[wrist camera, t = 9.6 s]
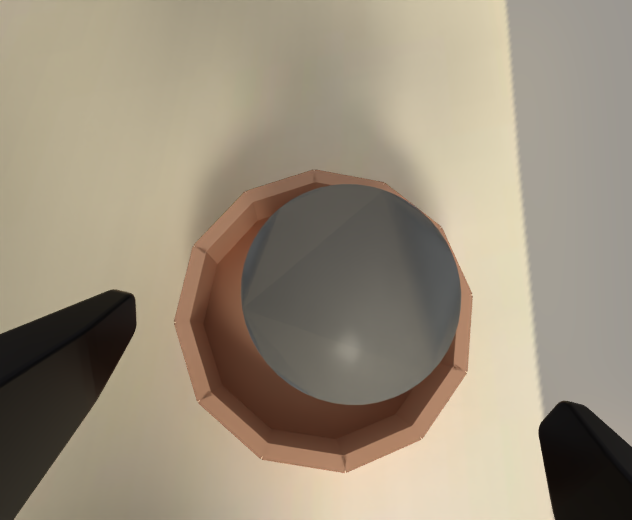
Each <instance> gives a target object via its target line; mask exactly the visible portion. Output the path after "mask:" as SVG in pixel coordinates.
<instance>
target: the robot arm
mask: <svg viewBox="0 0 632 520" xmlns="http://www.w3.org/2000/svg"><path fill="white" fill-rule="evenodd" d="M135 329H136V304H135V297H134V295H133V294H131V293H128V292H124V291H120V290H115V289H113V290H109V291H106V292H104V293H101V294H99V295H96V296H94V297H91V298H89V299H86V300H84V301H81V302H79V303H77V304H74V305H72V306H69V307H67V308H64V309H62V310H59V311H57V312H54V313H52V314H49V315H47V316H44V317H42V318H39V319H37V320H34V321H32V322H29V323H27V324H24V325H22V326H19V327H17V328H14V329H12V330H9V331H7V332H4V333H2V334H0V520H14V518H15V517H16V515H17V514H18V513H19V511H20V510H21V508H22V507H23V505H24V504H25V503H26V501H27V500H28V498H29V497H30V495H31V494H32V493H33V491H34V490H35V488H36V487H37V485H38V484H39V483H40V481H41V480H42V478H43V477H44V475H45V474H46V473H47V471H48V470H49V468H50V467H51V465H52V464H53V463H54V461H55V460H56V458H57V457H58V455H59V454H60V453H61V451H62V450H63V448H64V447H65V446H66V444H67V443H68V441H69V440H70V438H71V437H72V436H73V434H74V433H75V431H76V430H77V428H78V427H79V426H80V424H81V423H82V421H83V420H84V418H85V417H86V416H87V414H88V413H89V411H90V410H91V408H92V407H93V405H94V404H95V402H96V401H97V399H98V397H99V396H100V394H101V392H102V391H103V389H104V387H105V385H106V383H107V382H108V380H109V378H110V376H111V374H112V373H113V371H114V369H115V367H116V365H117V364H118V362H119V360H120V358H121V356H122V354H123V353H124V351H125V349H126V347H127V345H128V344H129V342H130V340H131V338H132V336H133V334H134V332H135ZM539 440H540V445H541V451H542V456H543V462H544V467H545V472H546V478H547V483H548V489H549V494H550V500H551V504H552V509H553V514H554V517H555V520H632V447H631V446H630V445H629V444H628V443H627V442H626V441H624V440H623V439H622V438H621V437H620V436H619V435H618V434H617V433H615V432H614V431H613V430H612V429H611V428H610V427H609V426H607V425H606V424H605V423H604V422H603V421H602V420H601V419H600V418H598V417H597V416H596V415H595V414H594V413H593V412H592V411H591V410H589V409H588V408H587V407H586V406H584V405H581V404H578V403H574V402H569V401H561V402H559V403H558V404H557V405H556V406H555V407H554V409H553V410H552V411H551V412H550V413H549V414H548V415H547V416H546V417H545V419H544V420H543V421H542V422H541V424H540V426H539Z"/></svg>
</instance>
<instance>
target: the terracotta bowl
mask: <svg viewBox="0 0 632 520" xmlns="http://www.w3.org/2000/svg"><path fill="white" fill-rule="evenodd" d="M383 183H384V182H380V181H374V180H369V179H364V178H358V177H353V176H347V175H342V174H336V173H331V172H325V171H320V170H315V171H314V170H311V171H307V172H304V173H301V174H298V175H295V176H292V177H288V178H285V179H282V180H279V181H276V182H273V183H269V184H266V185H263V186H260V187H257V188H254V189H250V190H247V191H246V193H245V192H244V193H243V194H242V195H241V196H240V197H239V198H238V199H237V200H236V201H235V202H234V203H233V204H232V205H231V206H230V207H229V208H228V210H227V211H226V212H225V213H224V214H223V215H222V216H221V217H220V218H219V219H218V220H217V221H216V222H215V223H214V224H213V225H212V226H211V227H210V228H209V229H208V230H207V232H206V233H205V234H204V235H203V236H202V237H201V238H200V239H199V240H198V241H197V242H196V243H195V244H194V246H195V247H194V246H193V248H192V252H191V256H190V260H189V264H188V268H187V272H186V276H185V280H184V284H183V288H182V292H181V296H180V300H179V304H178V308H177V312H176V316H175V320H174V322H176V323H174V325H175V328H176V332H177V335H178V338H179V342H180V345H181V349H182V352H183V355H184V359H185V362H186V365H187V369H188V372H189V376H190V379H191V382H192V386H193V389H194V393H195V396H196V399H197V401H199V400H200V401H199V402H198V403H199V404H200V405H201V406H202V407H203V408H204V409H205V410H207V411H208V412H209V413H210V414H211V415H212V416H213V417H214V418H215V419H217V420H218V421H219V422H220V423H221V424H222V425H223V426H224V427H225V428H227V429H228V430H229V431H230V432H231V433H232V434H233V435H234V436H235V437H237V438H238V439H239V440H240V441H241V442H242V443H243V444H244V445H246V446H247V447H248V448H249V449H250V450H251V451H252V452H253V453H254V454H256V455H257V456H258V457H259V458H260V459H261V457H262V456H263V457H262V460H267V461H274V462H280V463H286V464H292V465H298V466H305V467H311V468H317V469H323V470H329V471H336V472H342V473H345V471H346V473H347V472H349V471H351V470H354V469H356V468H358V467H360V466H363V465H365V464H367V463H370V462H372V461H374V460H376V459H379V458H381V457H383V456H385V455H388V454H390V453H392V452H394V451H397V450H399V449H401V448H404V447H406V446H408V445H410V444H413V443H415V442H417V441H419V440H421V438H422V439H423V437H424V436H425V434H426V433H427V431H428V430H429V428H430V427H431V425H432V424H433V422H434V421H435V419H436V418H437V416H438V415H439V413H440V412H441V411H442V409H443V408H444V406H445V405H446V403H447V402H448V400H449V399H450V397H451V396H452V394H453V393H454V391H455V390H456V388H457V387H458V385H459V384H460V383H461V381H462V380H463V378H464V377H465V375H466V374H467V373H466V372H467V370H468V355H469V341H470V327H471V312H472V298H473V296H472V295H471V294H472V292H471V290H470V288H469V286H468V284H467V281H466V279H465V277H464V275H463V273H462V270H461V268H460V266H459V264H458V262H457V259H456V257H455V255H454V253H453V251H452V249H451V246H450V244H449V242H448V240H447V238H446V235H445V233H444V231H443V229H442V228H440V227H441V226H440V225H439V224H437V223H436V222H435V221H433V220H432V219H431V218H430V217H428V216H427V215H426V214H424V213H423V212H422V211H421V210H420V211H421V212H422V213H423V214H424V215H426V216H427V217H428V218H429V219H430V220H431V221H432V223H433V224H434V225H435V226H436V227H437V229H438V230H439V231H440V233H441V234H442V236H443V237H444V239H445V240H446V242H447V244H448V246H449V248H450V250H451V252H452V254H453V257H454V260H455V263H456V265H457V269H458V274H459V278H460V286H461V311H460V317H459V322H458V326H457V329H456V332H455V336H454V338H453V340H452V343H451V345H450V347H449V349H448V351H447V352H446V354H445V356H444V357H443V359H442V360H441V362H440V363H439V364H438V365H437V367H436V368H435V369H434V370H433V371H432V372H431V374H429V375H428V376H427V377H426V378H425V379H424V380H423V381H421V382H420V383H419V384H418V385H416V386H414V387H413V388H411V389H410V390H408V391H407V392H405V393H403V394H400V395H398V396H396V397H394V398H391V399H388V400H385V401H381V402H377V403H371V404H365V405H345V404H337V403H331V402H327V401H324V400H320V399H317V398H315V397H312V396H310V395H307V394H305V393H303V392H301V391H300V390H298V389H296V388H295V387H293V386H291V385H290V384H288V383H287V382H286V381H285V380H283V379H282V378H281V377H280V376H278V375H277V374H276V373H275V371H274V370H273V369H272V368H271V367H270V366H269V365H268V364H267V363H266V361H265V360H264V359H263V357H262V356H261V355H260V353H259V352H258V350H257V348H256V346H255V345H254V343H253V341H252V339H251V337H250V334H249V332H248V329H247V326H246V324H245V319H244V315H243V311H242V302H241V278H242V273H243V267H244V263H245V260H246V257H247V254H248V251H249V249H250V246H251V244H252V242H253V240H254V238H255V237H256V235H257V233H258V232H259V230H260V229H261V227H262V226H263V225H264V224H265V222H266V221H267V220H268V219H269V218H270V217H271V216H272V215H273V214H274V213H275V212H276V211H277V210H278V209H279V208H280V207H282V206H283V205H285V204H286V203H287V202H289V201H290V200H292V199H294V198H296V197H297V196H299V195H301V194H303V193H306V192H308V191H311V190H314V189H317V188H321V187H325V186H329V185H338V184H358V185H365V186H371V187H375V188H379V189H382V190H385V191H388V192H390V193H393V194H395V195H397V196H399V197H401V198H403V199H404V200H406V199H405V198H404V197H403V196H401V195H400V194H399V193H397V192H396V191H395V190H394V189H392V188H391V187H390V186H388V185H387V184H386V183H384V185H383ZM406 201H408V200H406ZM408 202H409V201H408ZM409 203H410V202H409ZM411 204H412V203H411ZM412 205H413V204H412ZM413 206H414V205H413ZM416 208H417V207H416ZM465 371H466V372H465ZM420 437H421V438H420Z"/></svg>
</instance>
